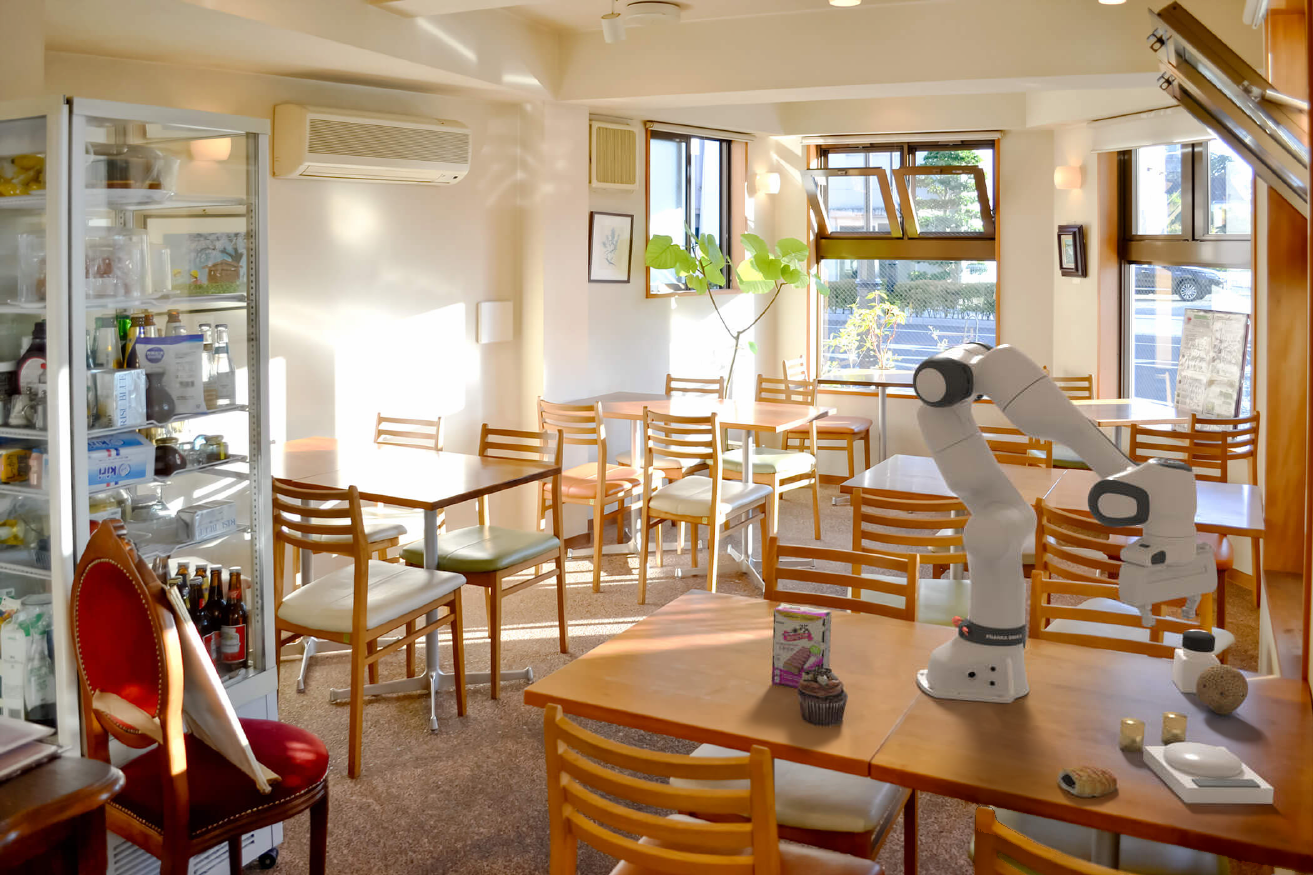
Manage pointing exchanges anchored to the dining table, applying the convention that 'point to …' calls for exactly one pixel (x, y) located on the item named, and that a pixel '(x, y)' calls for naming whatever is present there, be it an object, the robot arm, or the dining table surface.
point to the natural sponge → (1222, 688)
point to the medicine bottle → (1193, 659)
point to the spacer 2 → (1173, 727)
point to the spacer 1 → (1131, 735)
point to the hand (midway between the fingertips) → (1168, 621)
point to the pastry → (1087, 781)
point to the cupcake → (821, 697)
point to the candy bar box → (799, 642)
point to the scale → (1206, 774)
